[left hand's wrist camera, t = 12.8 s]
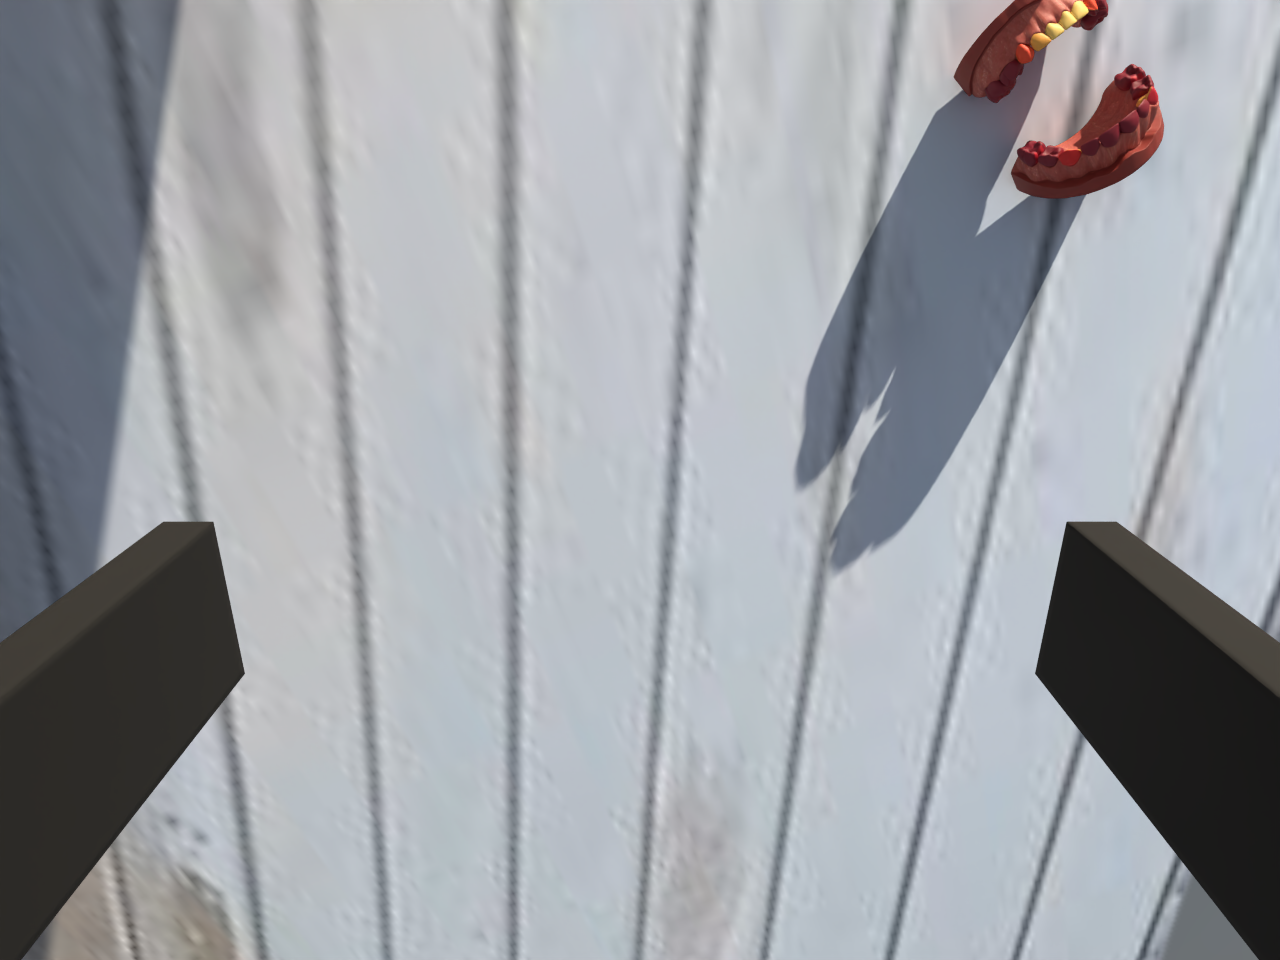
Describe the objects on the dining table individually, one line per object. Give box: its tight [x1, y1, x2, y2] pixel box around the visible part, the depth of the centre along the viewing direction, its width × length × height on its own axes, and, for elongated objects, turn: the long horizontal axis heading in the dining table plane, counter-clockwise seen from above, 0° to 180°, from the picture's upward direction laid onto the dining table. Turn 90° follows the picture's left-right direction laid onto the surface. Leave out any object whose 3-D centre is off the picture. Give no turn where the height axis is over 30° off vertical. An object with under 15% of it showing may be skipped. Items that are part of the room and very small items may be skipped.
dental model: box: [954, 0, 1164, 198], centre depth 31 cm, size 6×4×8 cm
